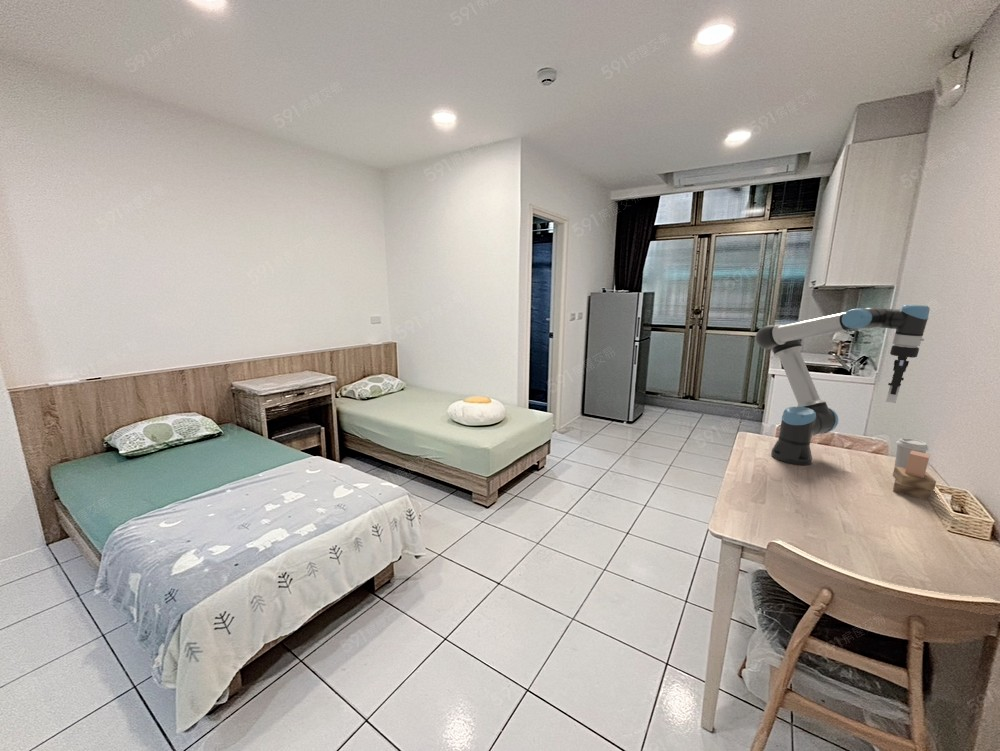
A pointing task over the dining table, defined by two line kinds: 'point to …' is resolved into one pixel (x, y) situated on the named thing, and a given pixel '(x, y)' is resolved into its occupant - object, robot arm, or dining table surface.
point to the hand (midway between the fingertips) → (891, 398)
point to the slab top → (913, 479)
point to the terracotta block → (917, 464)
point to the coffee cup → (908, 450)
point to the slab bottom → (911, 491)
